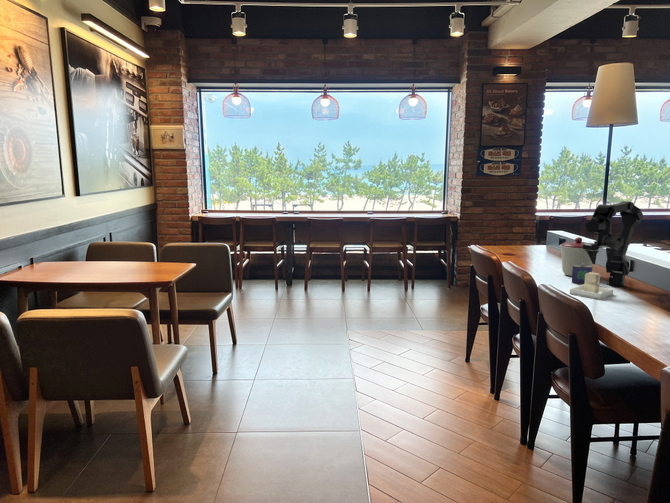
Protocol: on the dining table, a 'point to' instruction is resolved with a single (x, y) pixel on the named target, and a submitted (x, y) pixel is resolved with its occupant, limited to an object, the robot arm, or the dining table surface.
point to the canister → (574, 255)
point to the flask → (580, 273)
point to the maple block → (592, 282)
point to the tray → (580, 292)
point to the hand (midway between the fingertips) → (601, 263)
